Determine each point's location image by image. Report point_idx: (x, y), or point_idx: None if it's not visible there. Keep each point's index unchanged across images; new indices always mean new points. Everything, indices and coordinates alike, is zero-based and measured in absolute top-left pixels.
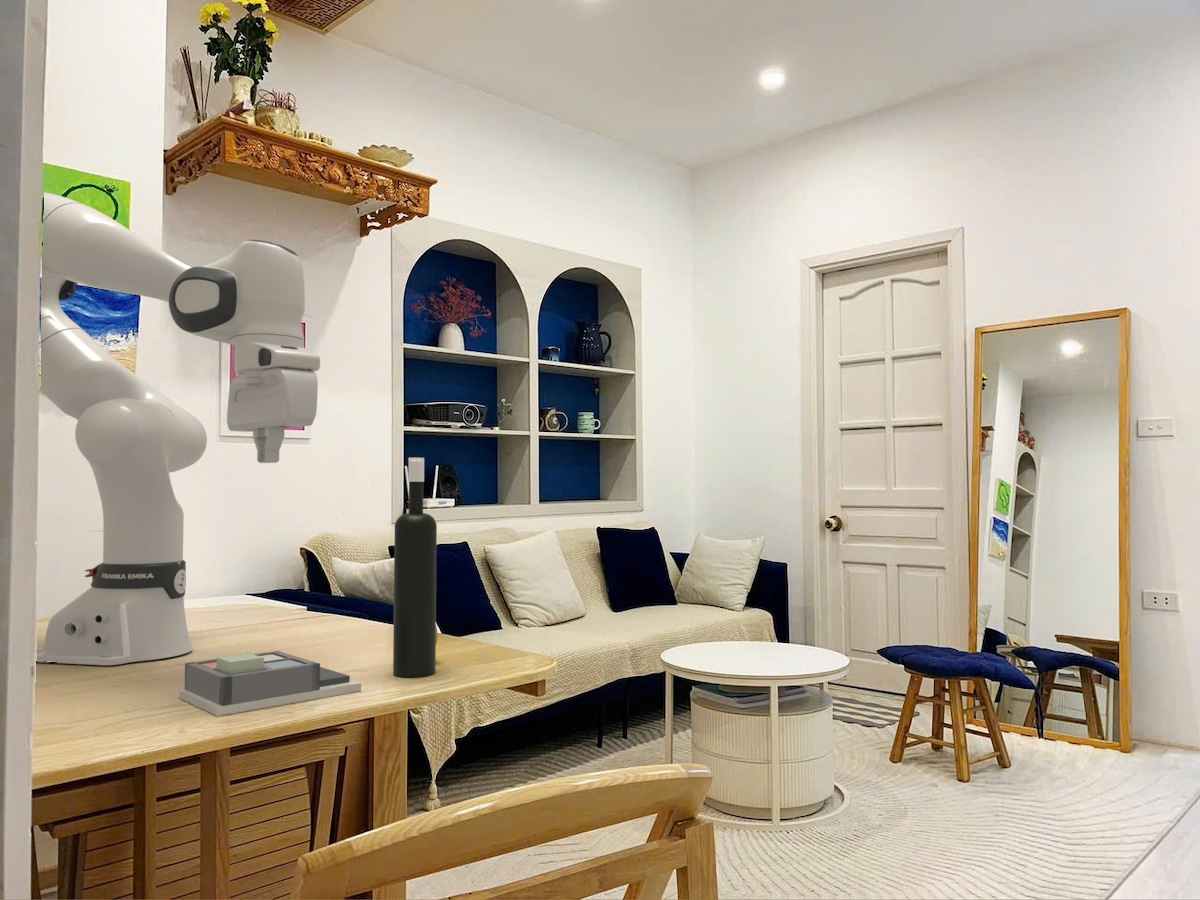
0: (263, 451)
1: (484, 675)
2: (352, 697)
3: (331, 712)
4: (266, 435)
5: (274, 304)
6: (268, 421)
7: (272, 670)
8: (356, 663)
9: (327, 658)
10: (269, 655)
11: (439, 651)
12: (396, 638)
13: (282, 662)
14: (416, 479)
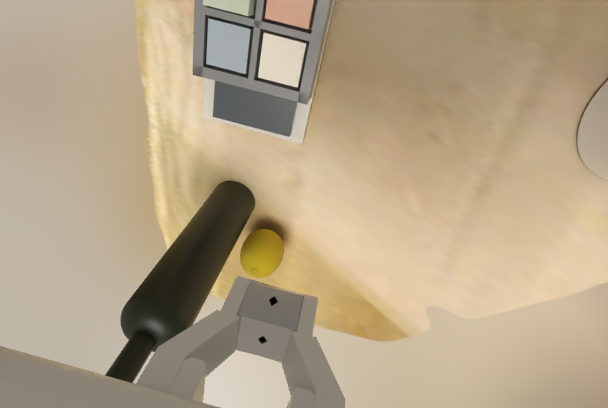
0: (252, 310)
1: (179, 220)
2: (188, 90)
3: (145, 28)
4: (187, 360)
5: None
6: (44, 385)
7: (195, 6)
8: (323, 209)
9: (373, 214)
10: (293, 80)
11: (298, 282)
12: (222, 201)
13: (237, 55)
14: None
